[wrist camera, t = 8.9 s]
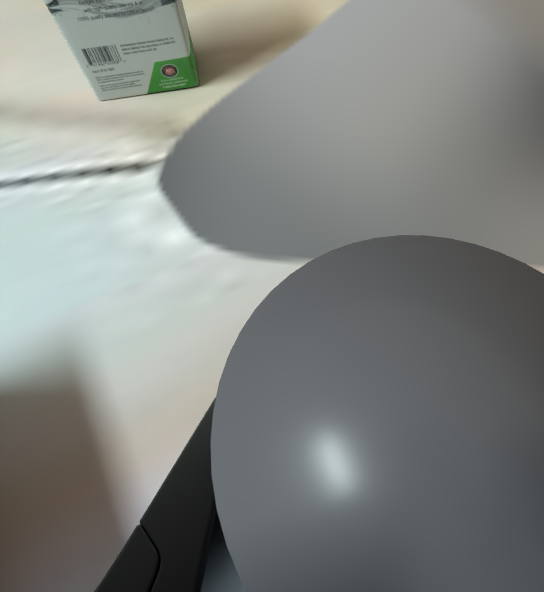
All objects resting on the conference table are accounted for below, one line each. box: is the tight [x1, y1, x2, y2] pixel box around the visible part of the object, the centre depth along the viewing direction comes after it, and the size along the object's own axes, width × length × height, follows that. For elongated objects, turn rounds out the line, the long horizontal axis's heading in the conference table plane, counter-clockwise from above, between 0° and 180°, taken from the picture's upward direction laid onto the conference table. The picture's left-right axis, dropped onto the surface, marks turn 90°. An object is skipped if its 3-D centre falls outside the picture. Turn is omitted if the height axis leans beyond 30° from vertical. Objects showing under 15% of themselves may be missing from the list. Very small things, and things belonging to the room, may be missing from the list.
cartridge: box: [211, 235, 544, 592], centre depth 9 cm, size 5×5×11 cm
